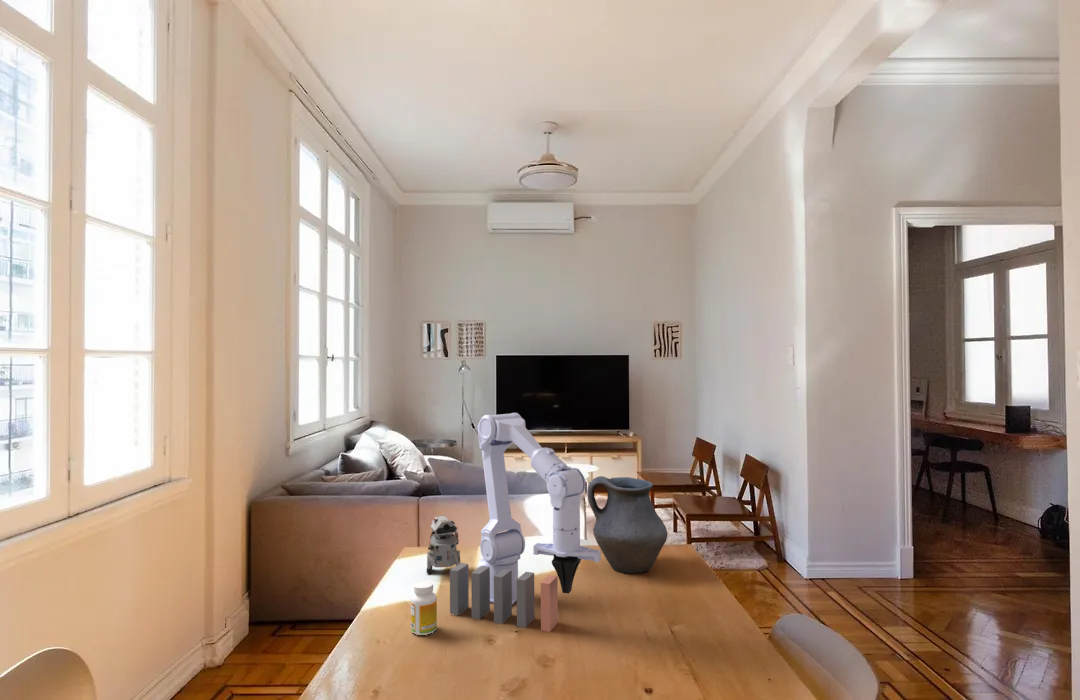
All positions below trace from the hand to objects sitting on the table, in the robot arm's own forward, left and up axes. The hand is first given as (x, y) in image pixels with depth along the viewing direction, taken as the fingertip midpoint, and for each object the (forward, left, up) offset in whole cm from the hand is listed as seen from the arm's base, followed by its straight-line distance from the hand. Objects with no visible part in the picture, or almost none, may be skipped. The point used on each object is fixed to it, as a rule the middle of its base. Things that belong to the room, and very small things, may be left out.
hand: (566, 591), depth 125 cm
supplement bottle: (-28, -12, -8) cm, 31 cm away
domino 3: (-15, 0, -8) cm, 17 cm away
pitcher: (+3, +41, -8) cm, 42 cm away
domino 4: (-9, 0, -8) cm, 12 cm away
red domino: (-4, 0, -8) cm, 9 cm away
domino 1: (-26, 0, -8) cm, 27 cm away
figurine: (-42, +19, -8) cm, 47 cm away
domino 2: (-20, 0, -8) cm, 22 cm away
